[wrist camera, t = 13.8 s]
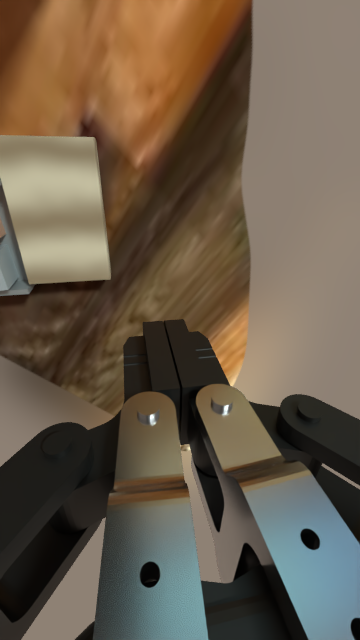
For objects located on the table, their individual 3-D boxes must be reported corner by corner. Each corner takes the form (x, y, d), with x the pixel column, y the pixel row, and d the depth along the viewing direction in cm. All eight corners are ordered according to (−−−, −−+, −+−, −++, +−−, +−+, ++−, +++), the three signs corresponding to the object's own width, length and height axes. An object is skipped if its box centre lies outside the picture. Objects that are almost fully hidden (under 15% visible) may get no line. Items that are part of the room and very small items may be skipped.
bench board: (0, 137, 28) (-12, 135, 26) (95, 139, 30) (93, 137, 27) (35, 275, 36) (29, 284, 33) (110, 270, 37) (110, 279, 35)
